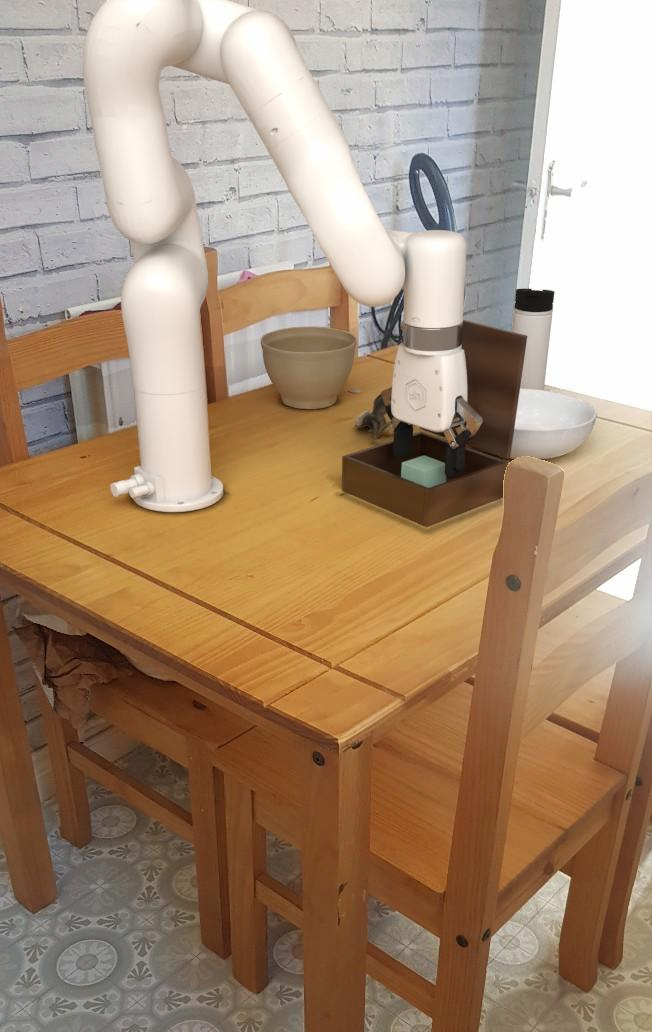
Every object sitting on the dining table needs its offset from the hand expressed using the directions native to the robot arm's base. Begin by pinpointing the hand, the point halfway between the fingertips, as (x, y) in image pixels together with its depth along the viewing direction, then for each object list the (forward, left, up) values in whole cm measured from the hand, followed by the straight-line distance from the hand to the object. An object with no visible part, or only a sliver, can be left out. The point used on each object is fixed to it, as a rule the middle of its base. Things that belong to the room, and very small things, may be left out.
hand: (428, 464), depth 141 cm
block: (0, 0, -4) cm, 4 cm away
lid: (+7, 0, +9) cm, 12 cm away
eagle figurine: (+13, +23, -5) cm, 27 cm away
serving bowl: (+25, +3, -5) cm, 25 cm away
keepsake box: (0, 0, -5) cm, 5 cm away
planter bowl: (+16, +43, -5) cm, 46 cm away
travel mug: (+41, +16, -5) cm, 44 cm away
